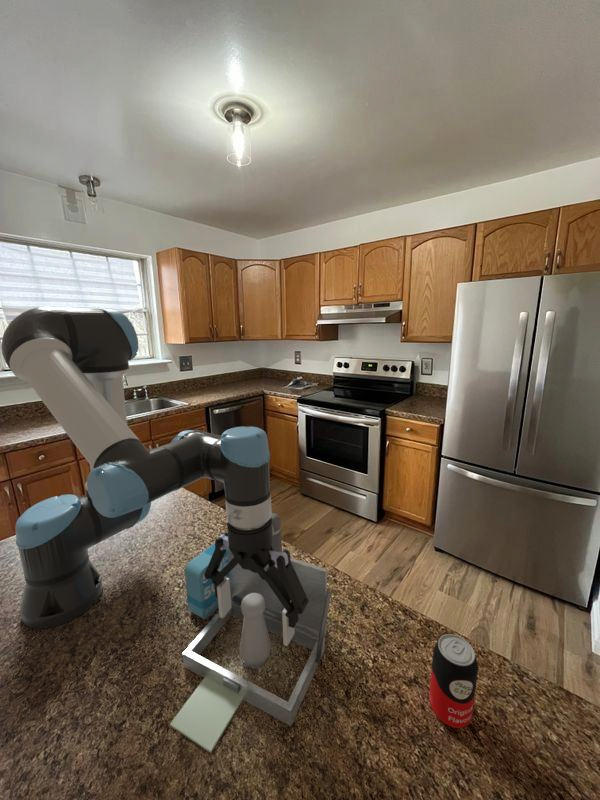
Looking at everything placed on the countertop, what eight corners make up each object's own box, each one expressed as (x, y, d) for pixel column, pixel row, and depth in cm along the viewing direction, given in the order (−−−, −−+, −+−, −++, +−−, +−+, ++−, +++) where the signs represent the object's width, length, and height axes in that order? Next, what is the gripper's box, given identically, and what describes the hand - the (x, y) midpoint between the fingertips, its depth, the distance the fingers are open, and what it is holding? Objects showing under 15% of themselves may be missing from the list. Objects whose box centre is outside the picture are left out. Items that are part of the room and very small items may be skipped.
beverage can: (421, 709, 55) (427, 648, 52) (438, 681, 59) (444, 623, 56) (462, 743, 50) (470, 678, 48) (477, 710, 54) (485, 648, 52)
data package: (202, 623, 71) (198, 573, 68) (188, 613, 73) (183, 565, 71) (240, 586, 81) (238, 541, 78) (226, 579, 83) (223, 535, 81)
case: (181, 669, 61) (173, 588, 58) (233, 606, 75) (229, 538, 71) (295, 733, 52) (294, 641, 48) (331, 647, 65) (332, 570, 62)
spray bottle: (269, 583, 82) (267, 507, 78) (287, 589, 80) (285, 512, 75) (258, 597, 78) (255, 518, 73) (276, 604, 75) (274, 523, 71)
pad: (170, 725, 53) (169, 724, 53) (205, 678, 60) (205, 676, 60) (210, 753, 49) (210, 751, 49) (242, 699, 56) (242, 697, 56)
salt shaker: (256, 638, 67) (254, 582, 65) (277, 655, 64) (276, 596, 61) (233, 660, 63) (229, 601, 60) (254, 680, 59) (251, 618, 57)
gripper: (177, 514, 59) (188, 617, 64) (307, 551, 48) (310, 672, 53) (206, 495, 66) (214, 589, 70) (326, 524, 55) (327, 633, 59)
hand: (255, 625), depth 61 cm, fingers open, 13 cm apart
